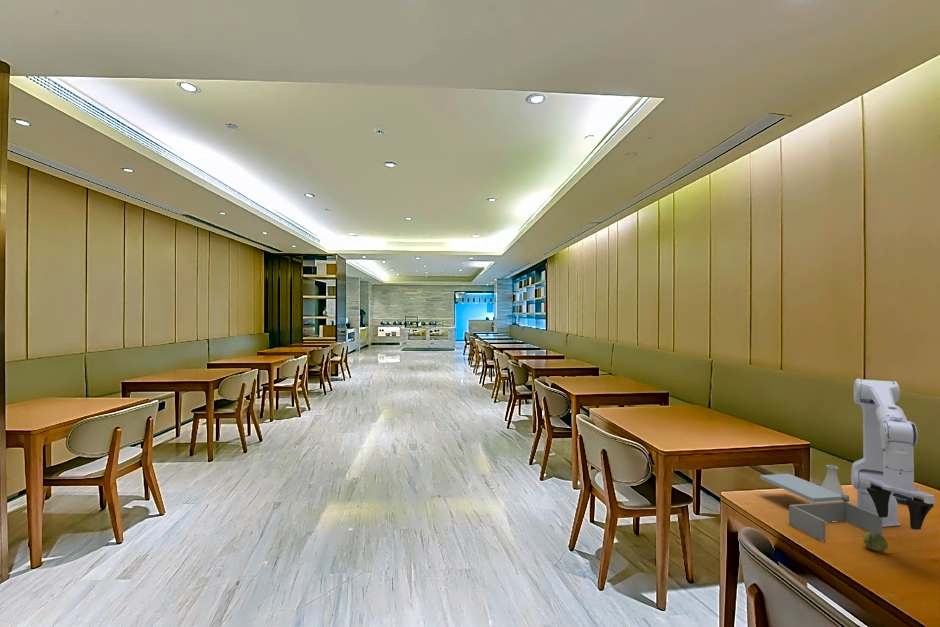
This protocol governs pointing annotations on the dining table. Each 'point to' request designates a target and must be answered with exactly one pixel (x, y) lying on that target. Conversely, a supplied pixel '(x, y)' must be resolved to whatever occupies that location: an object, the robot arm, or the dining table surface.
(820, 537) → the grey angular open frame
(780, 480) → the cover
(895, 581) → the dining table surface
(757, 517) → the dining table surface
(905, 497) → the watch
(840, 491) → the flask
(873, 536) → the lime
